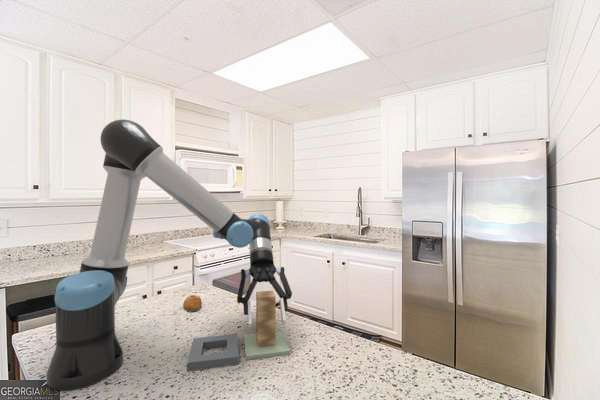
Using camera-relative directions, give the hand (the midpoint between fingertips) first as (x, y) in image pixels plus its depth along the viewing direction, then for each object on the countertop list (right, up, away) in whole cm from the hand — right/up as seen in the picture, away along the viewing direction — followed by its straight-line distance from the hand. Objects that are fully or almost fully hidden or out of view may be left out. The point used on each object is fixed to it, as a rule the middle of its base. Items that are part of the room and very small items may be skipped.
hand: (267, 323), depth 79 cm
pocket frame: (-14, -8, -1) cm, 16 cm away
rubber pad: (-1, -8, +3) cm, 8 cm away
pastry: (-32, -7, +32) cm, 46 cm away
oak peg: (-1, -7, +3) cm, 8 cm away
